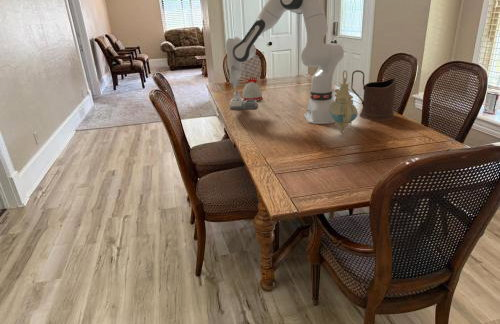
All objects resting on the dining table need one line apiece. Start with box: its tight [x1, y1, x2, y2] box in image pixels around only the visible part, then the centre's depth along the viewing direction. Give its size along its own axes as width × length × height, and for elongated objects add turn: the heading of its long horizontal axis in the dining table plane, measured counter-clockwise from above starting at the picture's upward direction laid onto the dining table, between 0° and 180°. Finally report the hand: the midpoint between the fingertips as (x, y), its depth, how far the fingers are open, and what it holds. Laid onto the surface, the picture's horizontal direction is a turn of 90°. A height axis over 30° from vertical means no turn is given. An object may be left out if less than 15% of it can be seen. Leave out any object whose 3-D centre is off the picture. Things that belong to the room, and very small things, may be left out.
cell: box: [233, 91, 241, 101], centre depth 221 cm, size 4×4×9 cm
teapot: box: [329, 69, 359, 134], centre depth 163 cm, size 24×12×30 cm, turn 2°
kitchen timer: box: [241, 76, 263, 101], centre depth 240 cm, size 14×14×15 cm
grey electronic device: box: [229, 97, 258, 110], centre depth 222 cm, size 12×16×5 cm
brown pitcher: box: [350, 69, 397, 122], centre depth 187 cm, size 18×24×25 cm
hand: (236, 87), depth 217 cm, fingers open, 8 cm apart
